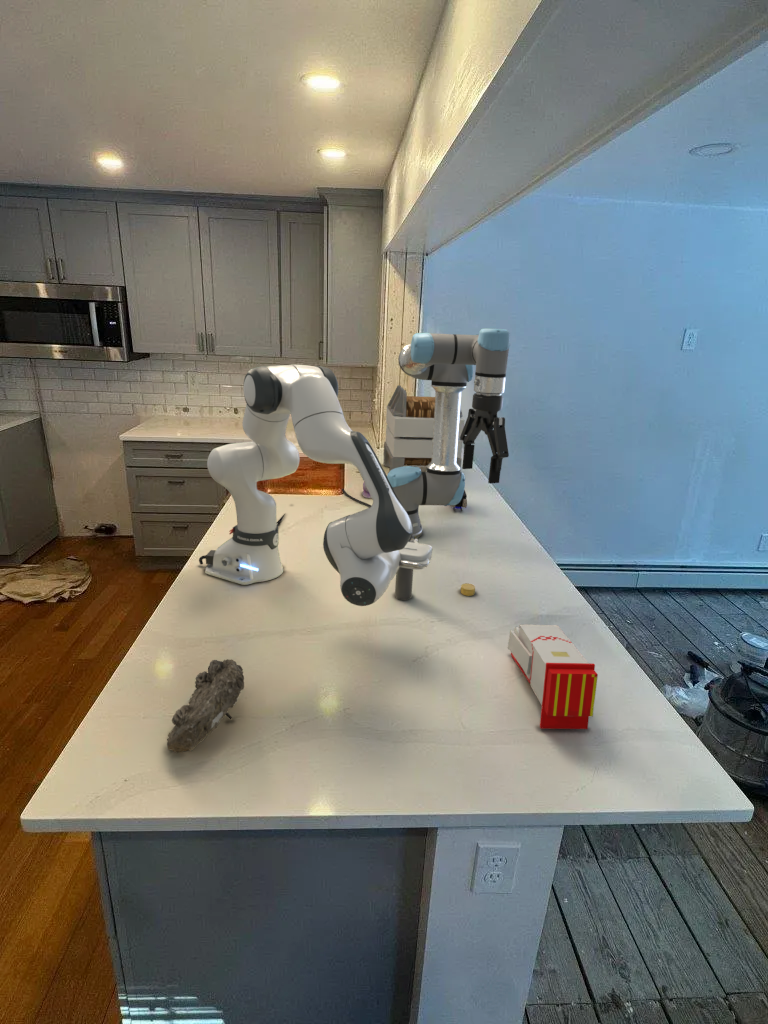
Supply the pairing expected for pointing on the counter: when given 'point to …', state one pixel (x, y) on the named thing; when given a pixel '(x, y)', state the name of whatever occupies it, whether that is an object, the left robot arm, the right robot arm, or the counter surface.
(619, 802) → the counter surface
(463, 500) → the figurine character
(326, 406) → the left robot arm
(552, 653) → the toy
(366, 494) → the figurine
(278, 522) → the feather
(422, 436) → the transformer
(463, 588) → the cap
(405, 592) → the bottle
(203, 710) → the grey elongated lump
